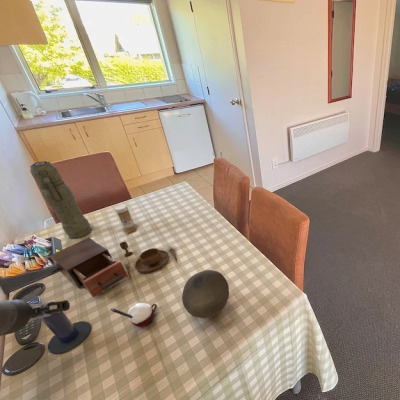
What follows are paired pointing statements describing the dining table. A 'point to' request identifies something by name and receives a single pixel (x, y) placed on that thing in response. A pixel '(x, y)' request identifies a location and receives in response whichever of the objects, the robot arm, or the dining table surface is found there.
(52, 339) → the mat
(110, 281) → the drawer
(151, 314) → the cocoa
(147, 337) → the dining table surface
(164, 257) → the place setting
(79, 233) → the olive carved slab
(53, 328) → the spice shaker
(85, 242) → the cabinet
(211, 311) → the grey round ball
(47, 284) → the dining table surface
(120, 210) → the sprinkles bottle
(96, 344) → the dining table surface
